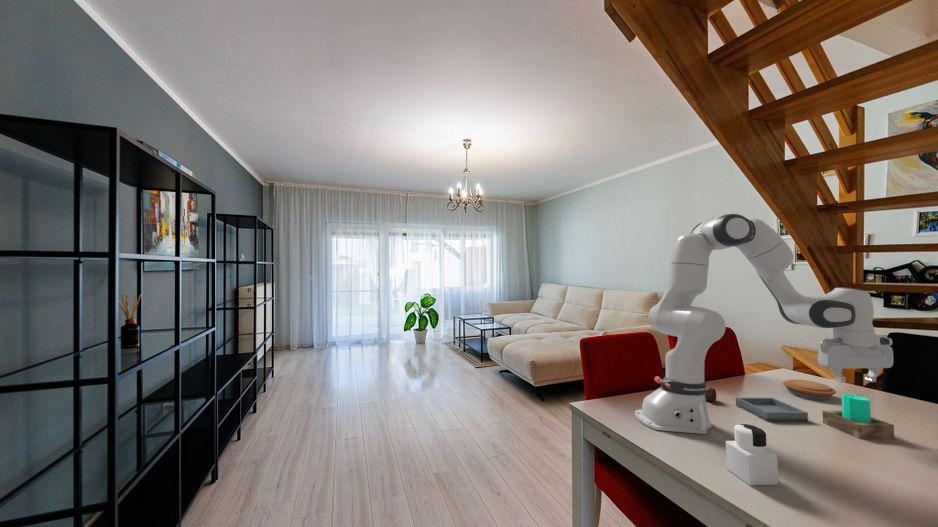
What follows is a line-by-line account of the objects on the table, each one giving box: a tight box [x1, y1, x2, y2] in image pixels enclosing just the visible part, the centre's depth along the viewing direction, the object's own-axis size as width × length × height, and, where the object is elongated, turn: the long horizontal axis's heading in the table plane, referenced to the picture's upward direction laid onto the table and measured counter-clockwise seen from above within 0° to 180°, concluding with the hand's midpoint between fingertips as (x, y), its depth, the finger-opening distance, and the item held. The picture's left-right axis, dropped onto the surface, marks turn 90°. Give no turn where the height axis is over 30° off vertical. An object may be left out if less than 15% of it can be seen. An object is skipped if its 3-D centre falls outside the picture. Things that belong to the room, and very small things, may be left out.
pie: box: [782, 379, 837, 401], centre depth 138 cm, size 16×16×5 cm
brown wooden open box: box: [822, 410, 895, 440], centre depth 107 cm, size 10×10×4 cm
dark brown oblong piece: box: [705, 387, 717, 404], centre depth 137 cm, size 6×5×15 cm
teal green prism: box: [841, 392, 872, 423], centre depth 107 cm, size 6×6×12 cm
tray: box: [735, 397, 809, 423], centre depth 120 cm, size 14×14×3 cm
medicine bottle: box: [725, 423, 779, 486], centre depth 83 cm, size 7×7×12 cm
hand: (855, 381), depth 108 cm, fingers open, 8 cm apart
